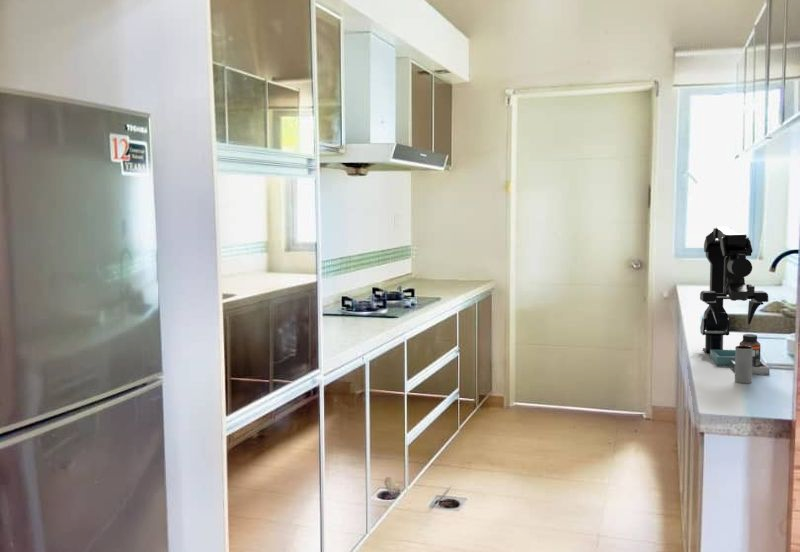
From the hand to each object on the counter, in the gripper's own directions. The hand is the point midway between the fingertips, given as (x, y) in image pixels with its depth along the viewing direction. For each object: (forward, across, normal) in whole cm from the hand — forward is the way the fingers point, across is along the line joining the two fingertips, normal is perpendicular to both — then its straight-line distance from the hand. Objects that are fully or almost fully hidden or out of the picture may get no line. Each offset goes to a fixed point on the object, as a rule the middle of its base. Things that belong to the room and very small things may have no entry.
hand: (733, 323), depth 231 cm
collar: (+15, +5, 0) cm, 16 cm away
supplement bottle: (+15, +5, 0) cm, 16 cm away
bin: (+15, +2, +11) cm, 19 cm away
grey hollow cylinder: (+15, 0, -15) cm, 21 cm away
